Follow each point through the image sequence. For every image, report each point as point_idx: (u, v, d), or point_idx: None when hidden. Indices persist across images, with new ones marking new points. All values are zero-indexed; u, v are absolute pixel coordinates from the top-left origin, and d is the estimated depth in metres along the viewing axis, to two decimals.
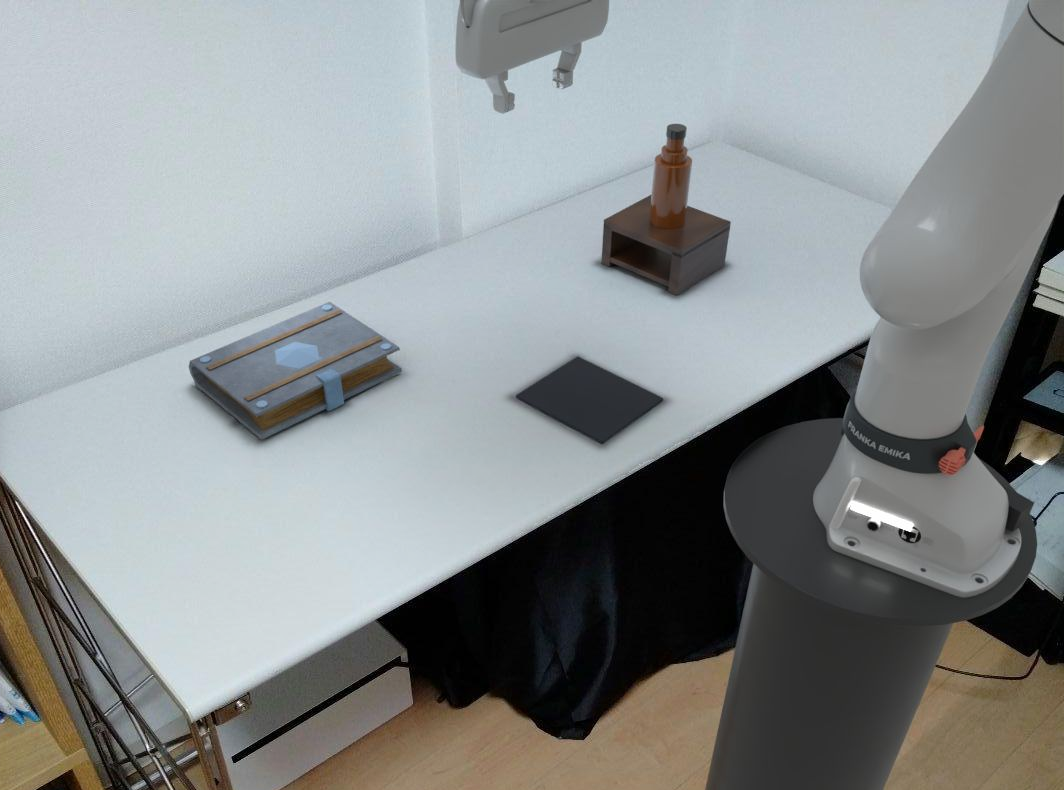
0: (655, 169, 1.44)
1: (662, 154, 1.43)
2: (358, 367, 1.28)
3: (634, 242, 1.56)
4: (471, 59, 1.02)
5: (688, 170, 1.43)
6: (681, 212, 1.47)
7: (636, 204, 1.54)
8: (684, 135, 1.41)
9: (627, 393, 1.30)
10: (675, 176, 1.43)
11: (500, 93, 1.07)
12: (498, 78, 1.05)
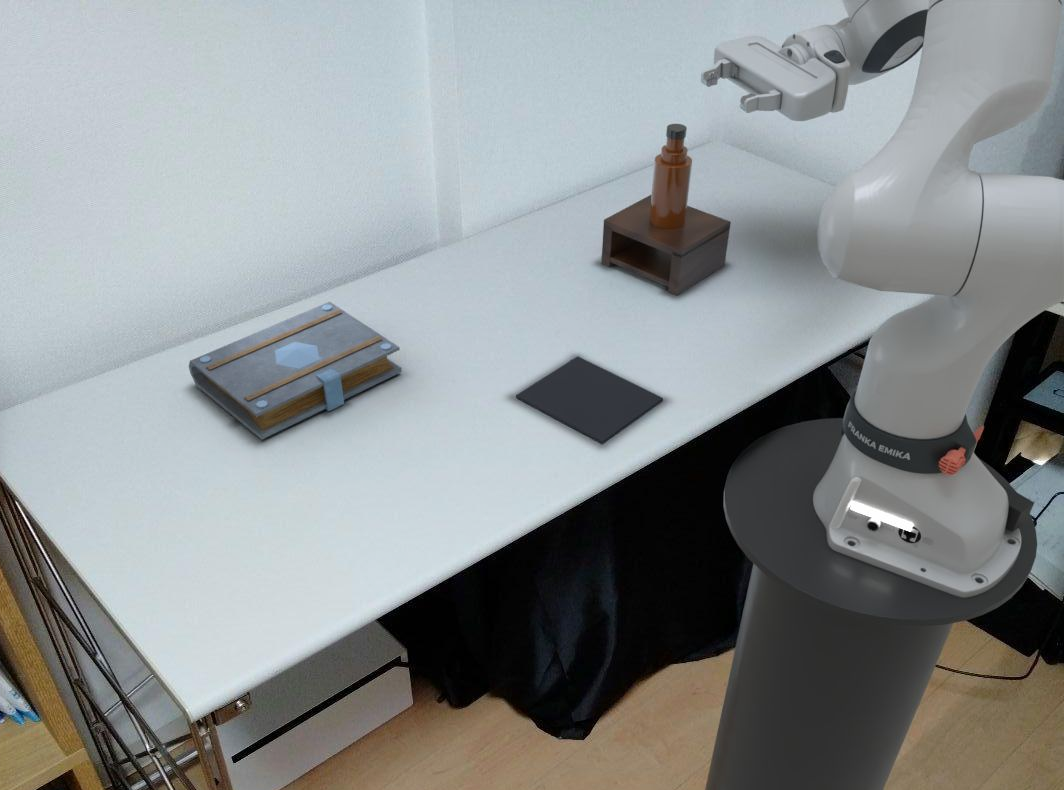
0: (655, 169, 1.44)
1: (662, 154, 1.43)
2: (358, 367, 1.28)
3: (634, 242, 1.56)
4: None
5: (688, 170, 1.43)
6: (681, 212, 1.47)
7: (636, 204, 1.54)
8: (684, 135, 1.41)
9: (627, 393, 1.30)
10: (675, 176, 1.43)
11: None
12: (721, 60, 1.44)
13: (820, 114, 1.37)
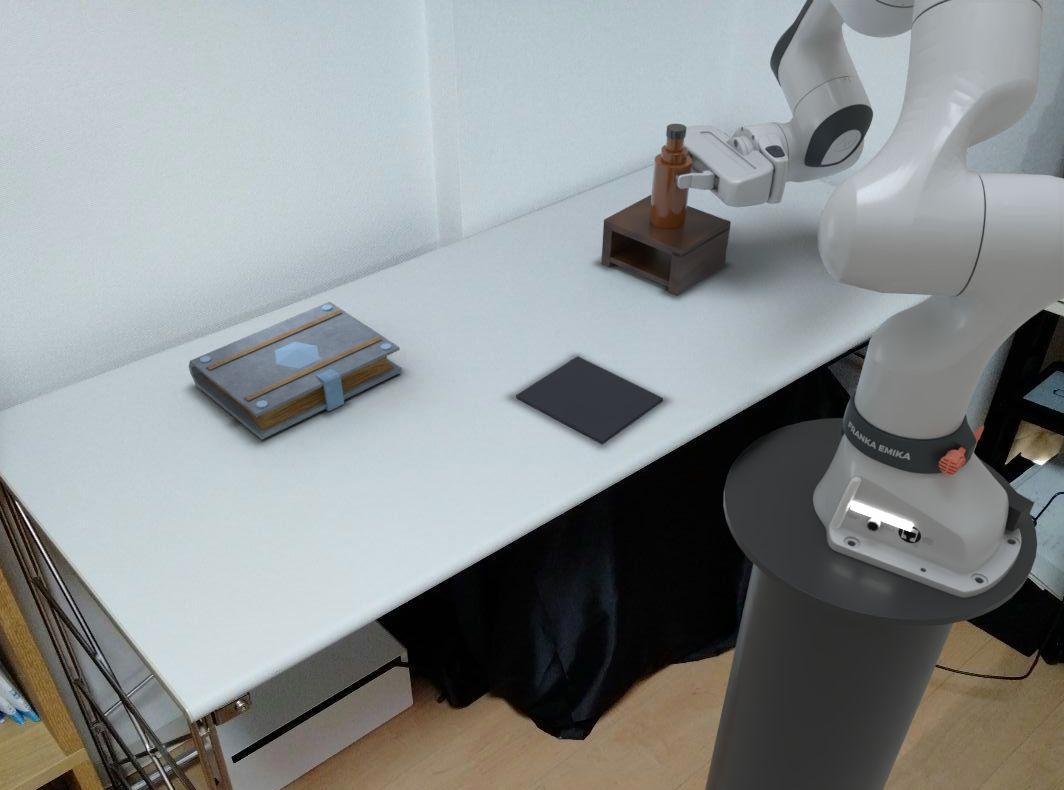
0: (655, 169, 1.44)
1: (662, 154, 1.43)
2: (358, 367, 1.28)
3: (634, 242, 1.56)
4: None
5: (688, 170, 1.43)
6: (681, 212, 1.47)
7: (636, 204, 1.54)
8: (684, 135, 1.41)
9: (627, 393, 1.30)
10: (674, 176, 1.43)
11: None
12: None
13: (755, 203, 1.42)
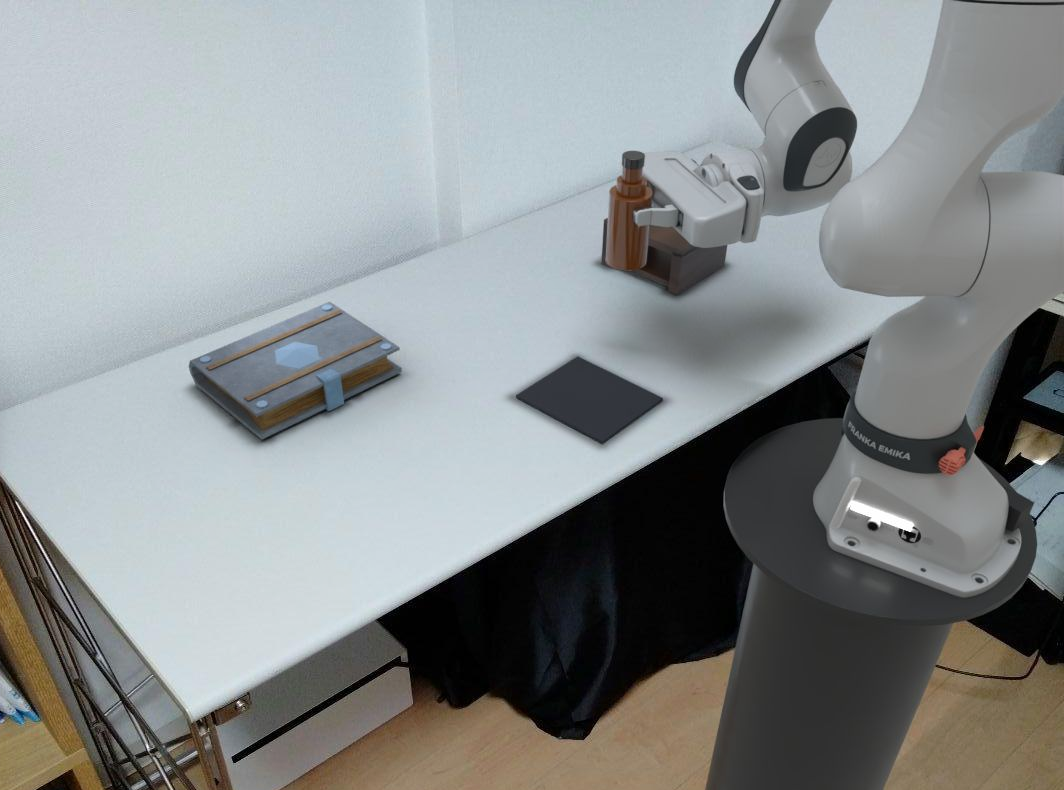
0: (610, 203, 1.25)
1: (617, 186, 1.23)
2: (358, 367, 1.28)
3: None
4: None
5: (647, 204, 1.24)
6: (641, 252, 1.27)
7: None
8: (642, 164, 1.21)
9: (627, 393, 1.30)
10: (632, 211, 1.23)
11: None
12: None
13: (725, 243, 1.22)
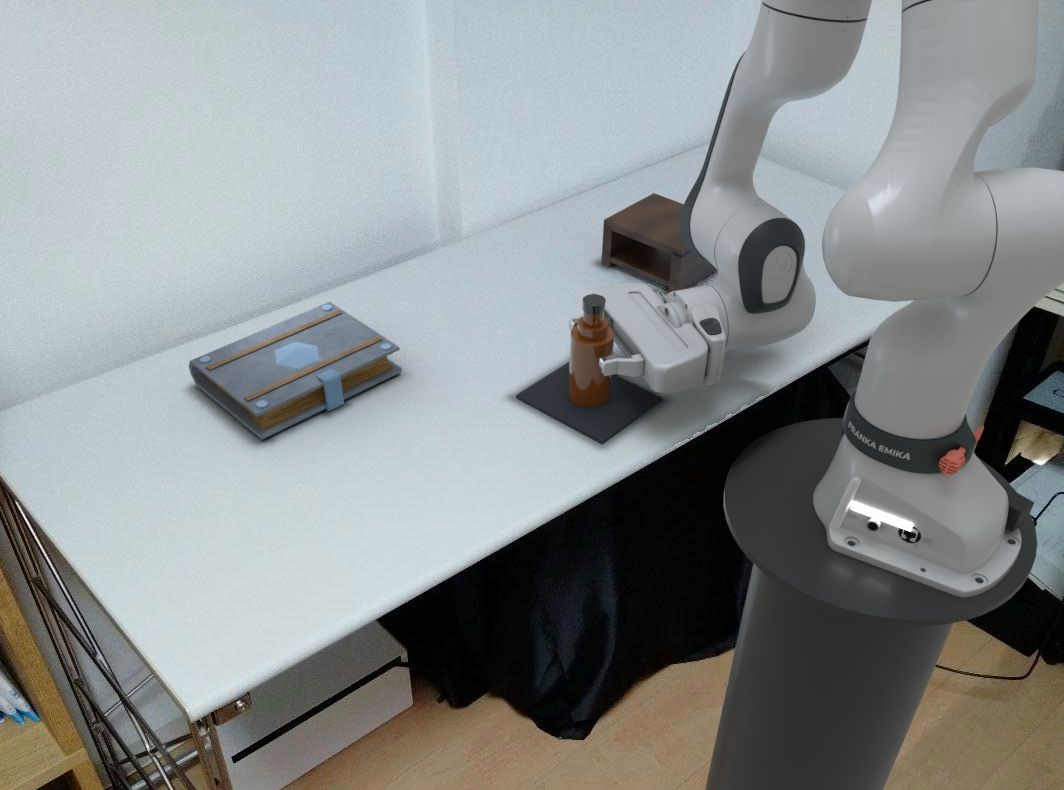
0: (571, 344, 1.24)
1: (578, 328, 1.22)
2: (358, 367, 1.28)
3: (634, 242, 1.56)
4: None
5: (608, 346, 1.23)
6: (603, 390, 1.27)
7: (636, 204, 1.54)
8: (603, 309, 1.20)
9: (627, 393, 1.30)
10: (593, 354, 1.22)
11: None
12: None
13: (687, 387, 1.21)
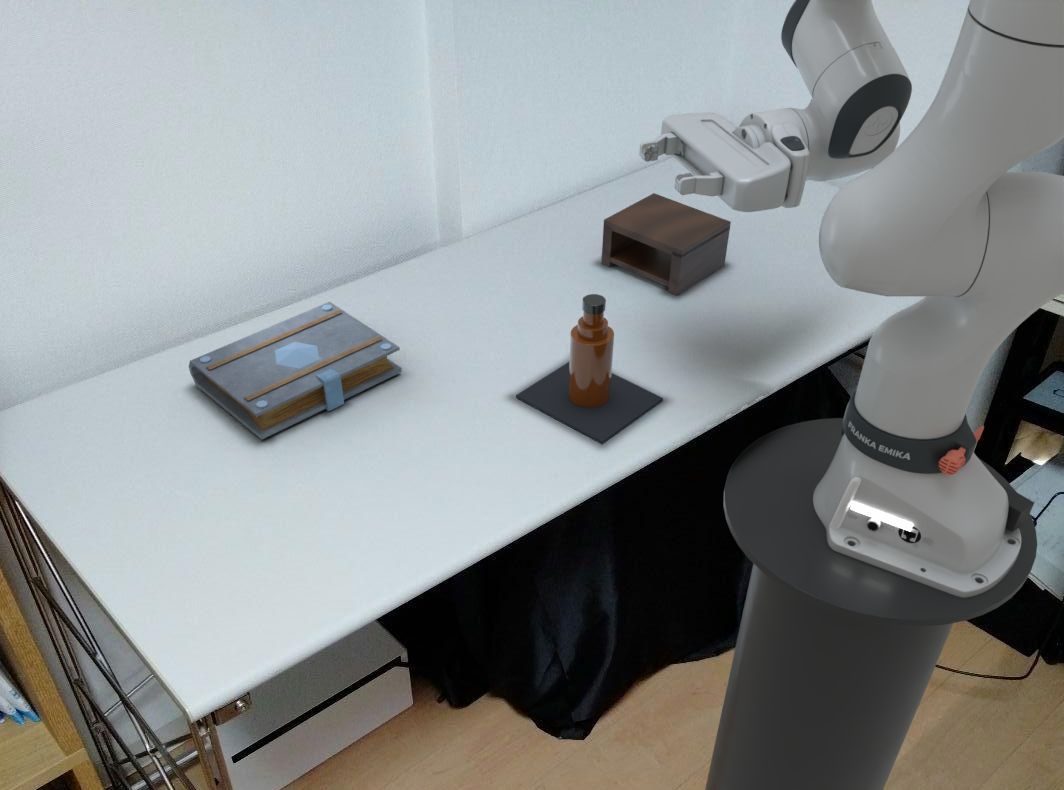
0: (571, 344, 1.24)
1: (578, 328, 1.22)
2: (358, 367, 1.28)
3: (634, 242, 1.56)
4: None
5: (608, 346, 1.23)
6: (603, 390, 1.27)
7: (636, 204, 1.54)
8: (603, 309, 1.20)
9: (627, 393, 1.30)
10: (593, 354, 1.22)
11: None
12: (666, 134, 1.23)
13: (768, 207, 1.15)
